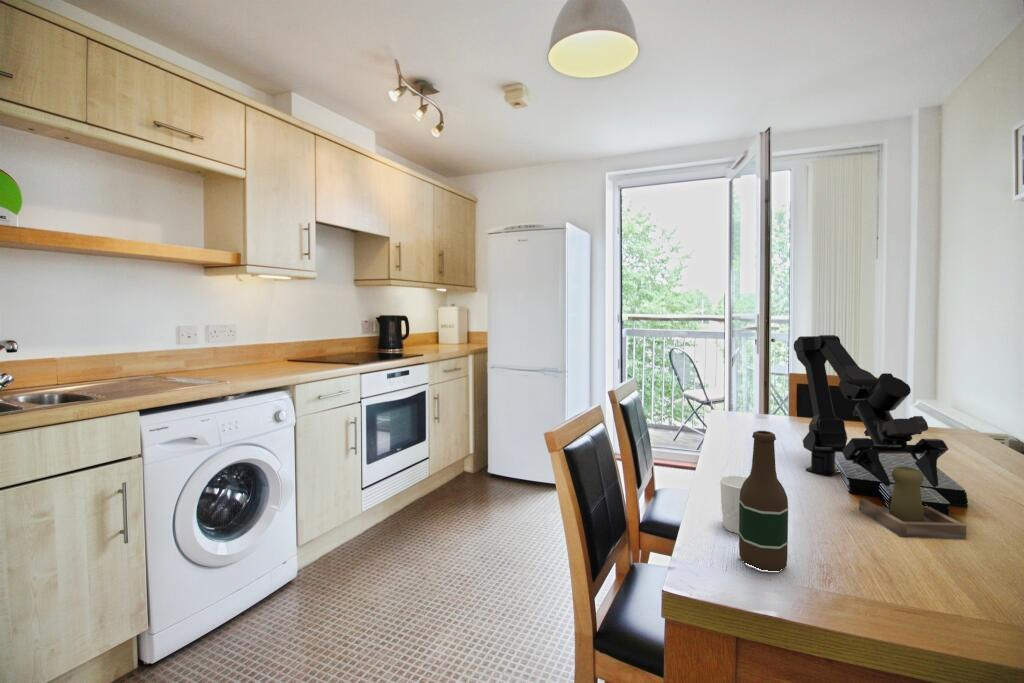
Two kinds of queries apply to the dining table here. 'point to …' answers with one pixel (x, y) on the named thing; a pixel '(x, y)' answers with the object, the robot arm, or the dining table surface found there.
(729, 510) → the white cup
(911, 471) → the cork
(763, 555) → the beer bottle
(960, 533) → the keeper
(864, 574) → the dining table surface
